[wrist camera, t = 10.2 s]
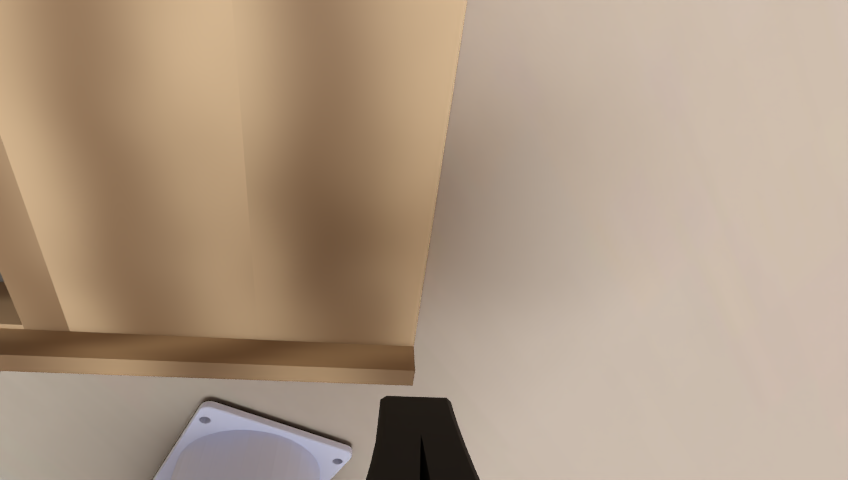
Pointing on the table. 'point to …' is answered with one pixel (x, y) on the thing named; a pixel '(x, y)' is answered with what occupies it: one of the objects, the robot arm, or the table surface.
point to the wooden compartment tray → (220, 184)
